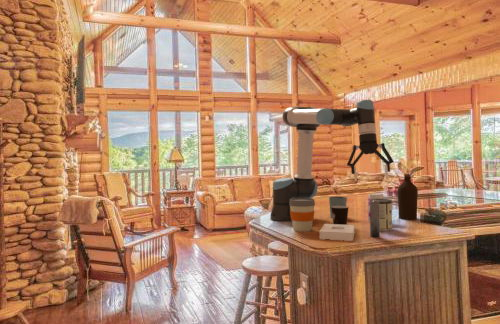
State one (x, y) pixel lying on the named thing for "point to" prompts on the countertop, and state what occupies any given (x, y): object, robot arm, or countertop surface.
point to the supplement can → (370, 197)
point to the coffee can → (385, 214)
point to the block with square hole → (337, 232)
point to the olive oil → (407, 199)
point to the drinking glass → (337, 202)
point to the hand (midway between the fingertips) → (371, 180)
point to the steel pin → (374, 219)
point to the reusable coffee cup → (302, 213)
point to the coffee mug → (340, 214)
